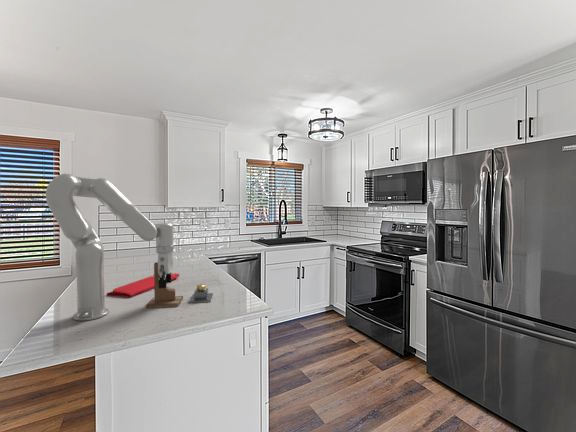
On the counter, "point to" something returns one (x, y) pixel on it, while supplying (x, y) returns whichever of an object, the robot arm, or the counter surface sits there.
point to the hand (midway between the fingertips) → (165, 285)
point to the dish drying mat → (136, 287)
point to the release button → (201, 287)
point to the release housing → (201, 296)
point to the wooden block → (162, 293)
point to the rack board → (164, 303)
